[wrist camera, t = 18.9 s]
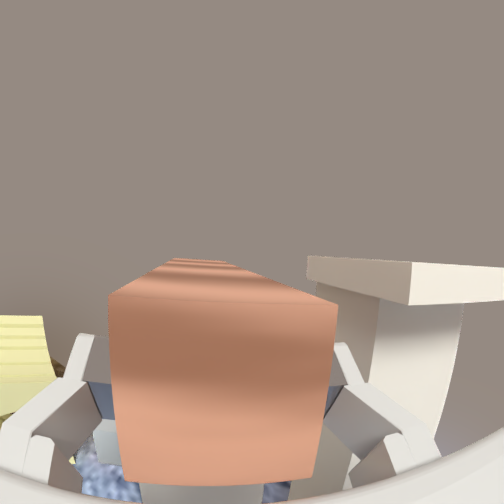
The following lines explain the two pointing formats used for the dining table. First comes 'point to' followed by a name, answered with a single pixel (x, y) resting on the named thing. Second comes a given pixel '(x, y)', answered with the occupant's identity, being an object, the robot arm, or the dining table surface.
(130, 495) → the dining table surface
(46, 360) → the slatted curved stool
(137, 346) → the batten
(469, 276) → the stand
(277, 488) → the dining table surface
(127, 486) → the dining table surface
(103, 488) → the dining table surface
